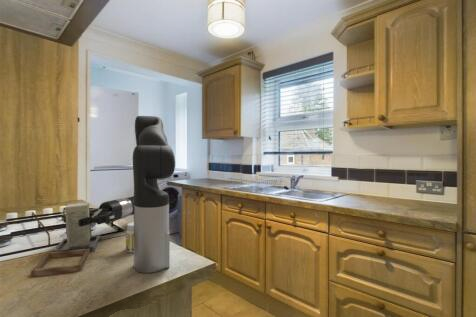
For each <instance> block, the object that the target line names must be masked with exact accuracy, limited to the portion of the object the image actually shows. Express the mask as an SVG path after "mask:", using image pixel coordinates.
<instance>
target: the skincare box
mask: <svg viewBox="0 0 476 317" xmlns="http://www.w3.org/2000/svg"><path fill="white" fill-rule="evenodd" d="M89 208H90V202H81V203H71V204H67V205H66V206H65V207H64V211H65V214H64V215H65V216H66V223H65V228H66V229H65V231H66V238H67V245H72V244H79V243H85V242H89V241H90V239H91V236H92V234H91V224H89V225H85V226H82V227H81V226H79V222H78V221H79V219H83V218H87V217H90V214H89Z"/></svg>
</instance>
